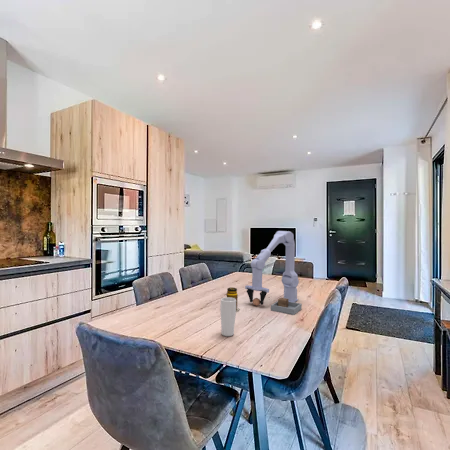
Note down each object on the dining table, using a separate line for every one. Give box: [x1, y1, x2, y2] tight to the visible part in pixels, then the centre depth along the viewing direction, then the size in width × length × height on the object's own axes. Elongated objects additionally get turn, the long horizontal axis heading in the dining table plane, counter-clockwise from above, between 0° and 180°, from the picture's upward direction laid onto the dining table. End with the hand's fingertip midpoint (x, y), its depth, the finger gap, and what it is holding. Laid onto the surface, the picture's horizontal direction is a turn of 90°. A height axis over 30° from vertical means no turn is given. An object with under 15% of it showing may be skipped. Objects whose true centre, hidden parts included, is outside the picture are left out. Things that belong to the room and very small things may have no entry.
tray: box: [270, 300, 303, 316], centre depth 158 cm, size 13×13×3 cm
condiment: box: [225, 287, 241, 312], centre depth 155 cm, size 7×8×12 cm
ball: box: [252, 297, 261, 307], centre depth 165 cm, size 4×4×4 cm
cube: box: [277, 297, 288, 308], centre depth 162 cm, size 4×4×4 cm
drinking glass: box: [219, 297, 237, 337], centre depth 121 cm, size 7×7×15 cm
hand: (256, 303), depth 165 cm, fingers open, 6 cm apart
